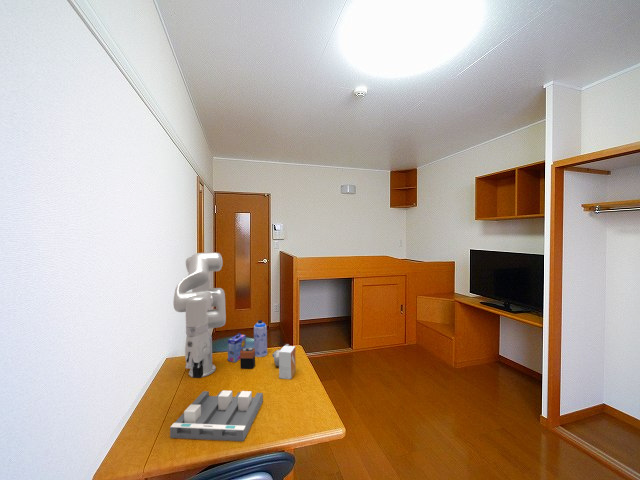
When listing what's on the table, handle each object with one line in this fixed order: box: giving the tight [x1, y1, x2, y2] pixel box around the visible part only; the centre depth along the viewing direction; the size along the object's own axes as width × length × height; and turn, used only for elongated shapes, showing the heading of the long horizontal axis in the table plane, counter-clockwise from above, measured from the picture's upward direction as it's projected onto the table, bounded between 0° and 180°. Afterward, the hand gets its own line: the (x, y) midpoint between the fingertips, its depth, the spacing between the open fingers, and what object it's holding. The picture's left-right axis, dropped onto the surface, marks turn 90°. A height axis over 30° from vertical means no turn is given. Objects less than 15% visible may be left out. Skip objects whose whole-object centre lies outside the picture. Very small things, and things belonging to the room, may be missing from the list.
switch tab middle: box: [218, 389, 233, 410], centre depth 105 cm, size 4×4×5 cm
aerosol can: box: [253, 319, 268, 358], centre depth 157 cm, size 8×8×20 cm
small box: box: [278, 345, 297, 380], centre depth 133 cm, size 8×6×13 cm
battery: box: [239, 347, 256, 370], centre depth 142 cm, size 4×7×10 cm, turn 87°
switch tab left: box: [183, 403, 201, 424], centre depth 97 cm, size 4×4×5 cm
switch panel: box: [169, 390, 264, 442], centre depth 101 cm, size 26×22×4 cm
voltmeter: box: [271, 334, 290, 367], centre depth 149 cm, size 27×11×10 cm, turn 26°
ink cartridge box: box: [227, 332, 247, 363], centre depth 152 cm, size 10×6×14 cm, turn 160°
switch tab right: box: [238, 390, 253, 411], centre depth 105 cm, size 4×4×5 cm
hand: (198, 376), depth 101 cm, fingers closed
